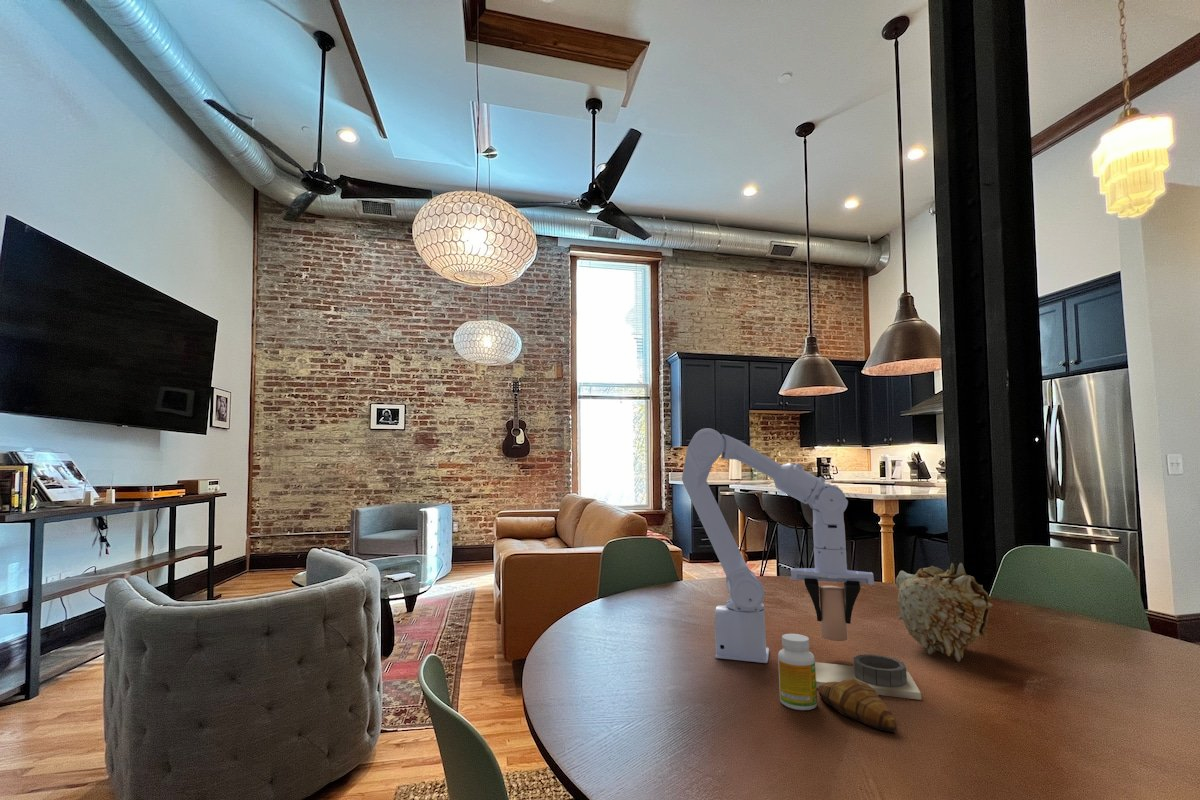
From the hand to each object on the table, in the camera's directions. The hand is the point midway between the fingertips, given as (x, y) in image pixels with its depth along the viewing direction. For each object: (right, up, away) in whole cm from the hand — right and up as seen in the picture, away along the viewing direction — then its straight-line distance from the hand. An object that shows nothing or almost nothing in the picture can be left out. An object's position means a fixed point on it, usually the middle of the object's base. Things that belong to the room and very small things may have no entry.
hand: (833, 621), depth 104 cm
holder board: (-3, -5, -12) cm, 13 cm away
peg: (0, -3, 0) cm, 3 cm away
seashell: (+23, -7, +3) cm, 25 cm away
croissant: (-7, -4, -24) cm, 25 cm away
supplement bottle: (-14, -5, -20) cm, 25 cm away
